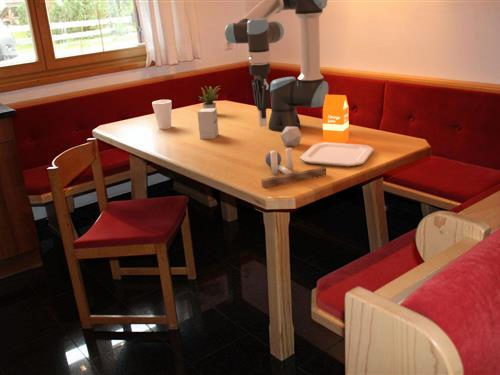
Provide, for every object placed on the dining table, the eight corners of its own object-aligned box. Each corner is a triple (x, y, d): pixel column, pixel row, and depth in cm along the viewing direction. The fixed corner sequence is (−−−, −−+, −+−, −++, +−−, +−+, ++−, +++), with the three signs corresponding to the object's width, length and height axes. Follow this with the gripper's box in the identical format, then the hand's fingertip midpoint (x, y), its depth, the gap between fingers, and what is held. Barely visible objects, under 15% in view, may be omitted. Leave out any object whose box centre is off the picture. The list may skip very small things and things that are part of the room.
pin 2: (291, 169, 193) (290, 147, 190) (294, 171, 191) (293, 149, 188) (285, 170, 193) (284, 148, 189) (288, 172, 190) (287, 150, 187)
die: (290, 150, 217) (303, 131, 215) (274, 139, 219) (287, 120, 217) (295, 152, 224) (308, 133, 222) (279, 140, 227) (292, 122, 225)
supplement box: (215, 138, 238) (212, 111, 234) (199, 139, 240) (196, 111, 235) (219, 134, 245) (216, 107, 240) (204, 134, 246) (201, 108, 242)
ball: (285, 157, 193) (282, 169, 197) (279, 147, 197) (275, 159, 201) (270, 159, 191) (267, 171, 195) (264, 148, 195) (261, 160, 199)
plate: (361, 170, 188) (361, 165, 188) (296, 165, 199) (296, 159, 198) (376, 150, 209) (376, 145, 208) (316, 146, 219) (316, 141, 219)
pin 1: (276, 172, 191) (275, 150, 188) (279, 174, 189) (278, 151, 186) (270, 173, 191) (269, 151, 187) (273, 175, 188) (272, 152, 185)
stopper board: (323, 173, 187) (323, 167, 186) (326, 175, 185) (326, 168, 184) (261, 186, 179) (261, 179, 178) (264, 188, 177) (263, 181, 176)
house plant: (230, 112, 286) (227, 82, 280) (218, 118, 274) (216, 87, 268) (207, 111, 292) (204, 81, 286) (194, 117, 280) (191, 86, 274)
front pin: (284, 165, 193) (294, 171, 186) (282, 171, 194) (291, 178, 186) (278, 163, 192) (288, 170, 185) (276, 169, 193) (286, 176, 185)
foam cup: (152, 129, 262) (148, 103, 257) (161, 124, 270) (158, 99, 265) (168, 130, 258) (165, 104, 254) (177, 125, 266) (174, 99, 261)
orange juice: (329, 138, 228) (328, 92, 221) (348, 139, 224) (349, 93, 217) (322, 143, 222) (322, 96, 214) (343, 145, 218) (343, 97, 210)
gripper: (243, 62, 196) (247, 123, 204) (257, 66, 184) (260, 131, 193) (262, 60, 198) (265, 121, 207) (276, 64, 187) (279, 128, 195)
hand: (262, 125), depth 200 cm, fingers closed
